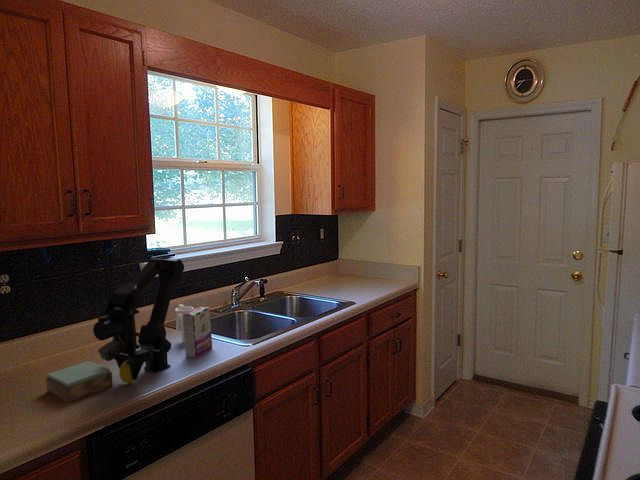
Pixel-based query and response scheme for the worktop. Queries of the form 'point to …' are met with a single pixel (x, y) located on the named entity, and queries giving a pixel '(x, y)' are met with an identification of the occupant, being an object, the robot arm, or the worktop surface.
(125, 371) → the lemon
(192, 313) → the candy bar box
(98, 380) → the tray
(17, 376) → the worktop surface
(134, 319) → the robot arm
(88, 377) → the lid
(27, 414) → the worktop surface
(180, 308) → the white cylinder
